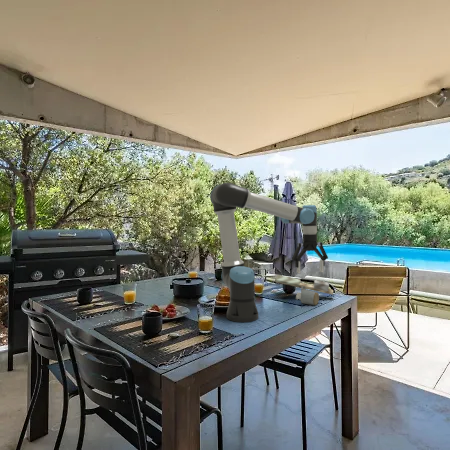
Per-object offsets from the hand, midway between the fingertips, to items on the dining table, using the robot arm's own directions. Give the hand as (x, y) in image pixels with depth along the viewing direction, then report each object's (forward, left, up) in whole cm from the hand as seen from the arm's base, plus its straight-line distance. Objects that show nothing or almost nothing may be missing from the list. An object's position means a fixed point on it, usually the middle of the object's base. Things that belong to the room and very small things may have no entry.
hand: (310, 272), depth 180 cm
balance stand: (+3, +14, -17) cm, 22 cm away
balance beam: (+3, +14, -11) cm, 18 cm away
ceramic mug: (0, 0, -17) cm, 17 cm away
